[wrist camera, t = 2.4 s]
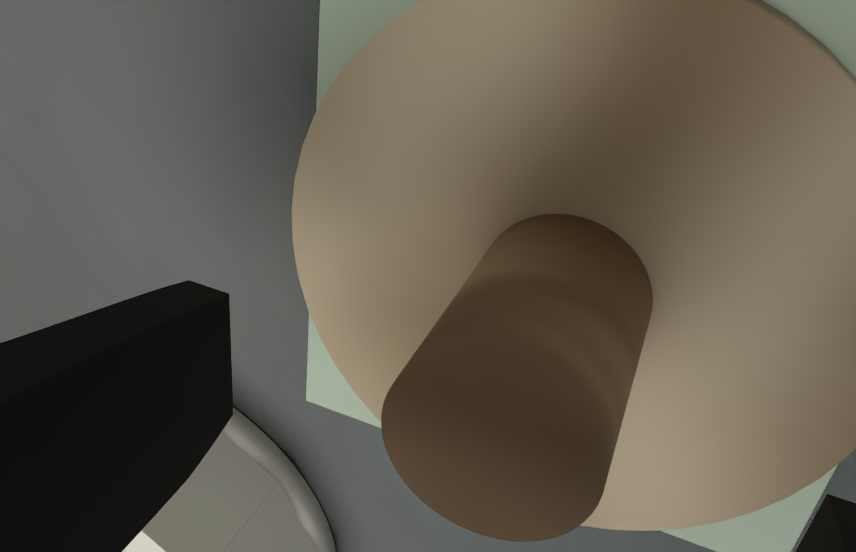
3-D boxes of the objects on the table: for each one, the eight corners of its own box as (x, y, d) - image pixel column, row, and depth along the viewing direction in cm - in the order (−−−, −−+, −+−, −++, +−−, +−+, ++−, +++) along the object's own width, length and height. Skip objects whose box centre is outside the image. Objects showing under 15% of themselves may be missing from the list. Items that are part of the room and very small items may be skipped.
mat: (1060, 27, 10) (1070, 33, 9) (778, 558, 15) (778, 574, 14) (335, -100, 12) (323, -98, 12) (314, 390, 17) (305, 400, 17)
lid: (1070, 33, 9) (1284, 172, 5) (777, 573, 14) (777, 843, 11) (324, -99, 12) (101, -69, 8) (306, 399, 17) (165, 564, 13)
